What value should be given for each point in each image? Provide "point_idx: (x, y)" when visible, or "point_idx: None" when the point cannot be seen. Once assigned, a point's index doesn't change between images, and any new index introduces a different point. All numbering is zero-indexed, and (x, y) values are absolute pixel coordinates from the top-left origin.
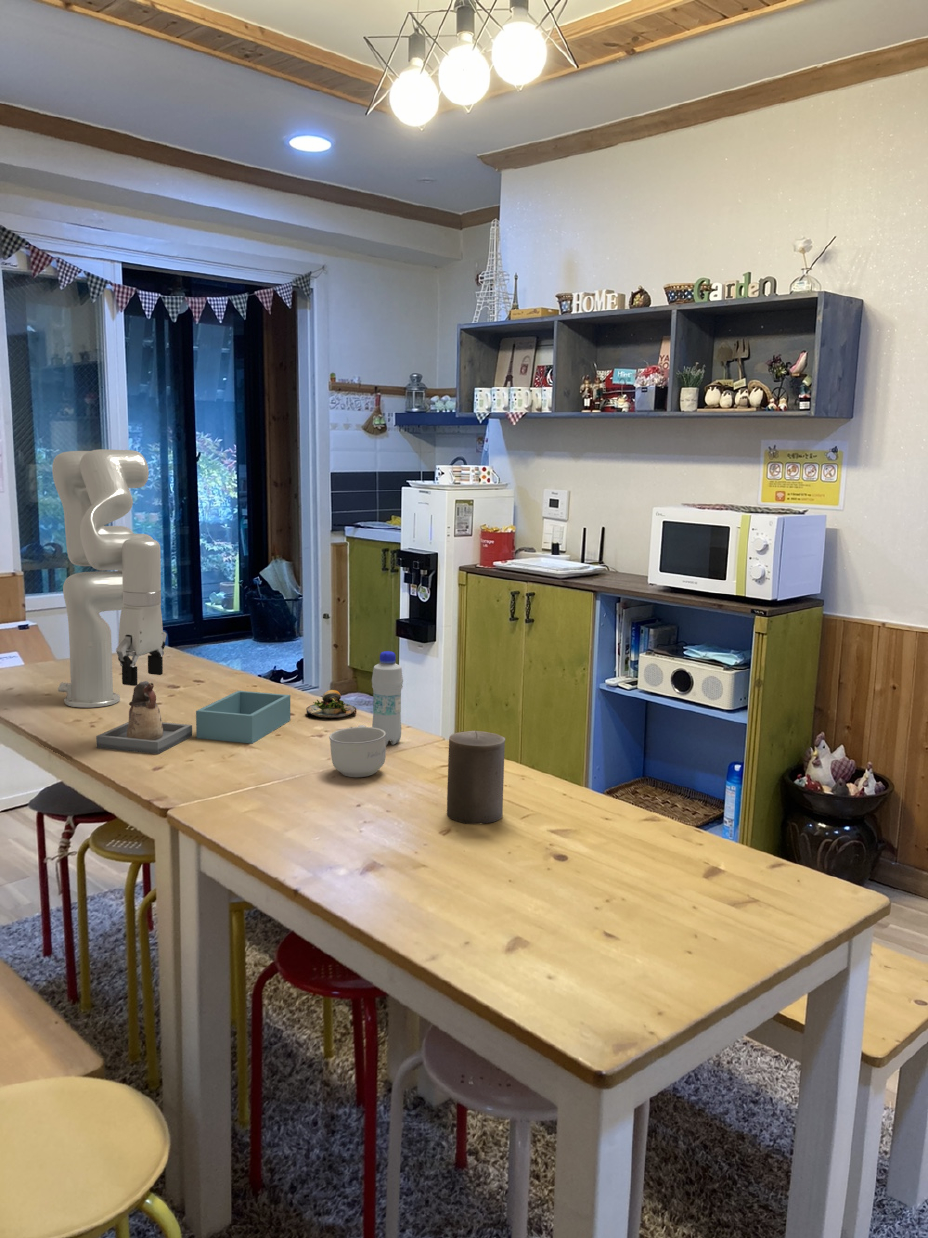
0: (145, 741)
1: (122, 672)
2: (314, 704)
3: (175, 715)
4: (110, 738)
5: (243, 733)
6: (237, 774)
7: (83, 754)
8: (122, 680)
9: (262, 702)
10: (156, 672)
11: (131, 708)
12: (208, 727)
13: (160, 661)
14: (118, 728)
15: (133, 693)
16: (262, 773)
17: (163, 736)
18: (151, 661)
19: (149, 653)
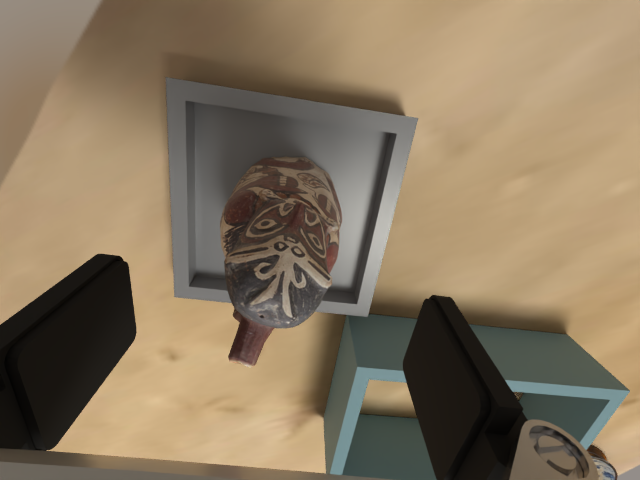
0: (173, 262)
1: (31, 307)
2: (605, 462)
3: (596, 174)
4: (169, 140)
5: (328, 423)
6: (123, 446)
7: (103, 69)
8: (86, 265)
9: (556, 424)
10: (411, 355)
11: (229, 214)
12: (343, 361)
13: (429, 453)
14: (286, 115)
15: (240, 240)
16: None
17: None
18: (452, 389)
19: (521, 437)
